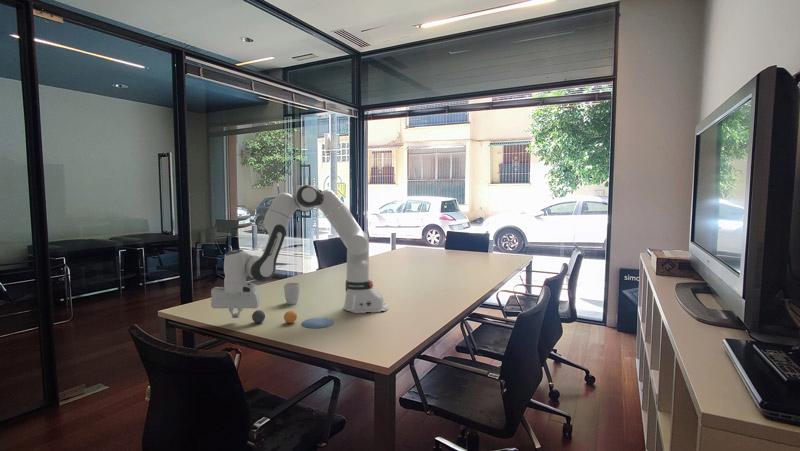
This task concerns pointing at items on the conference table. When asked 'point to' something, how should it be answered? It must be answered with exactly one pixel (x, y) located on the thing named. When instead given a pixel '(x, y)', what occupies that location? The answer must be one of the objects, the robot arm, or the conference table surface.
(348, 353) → the conference table surface
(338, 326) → the conference table surface
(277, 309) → the conference table surface
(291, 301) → the cup
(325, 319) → the blue mark
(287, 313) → the orange ball
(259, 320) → the dark gray ball
